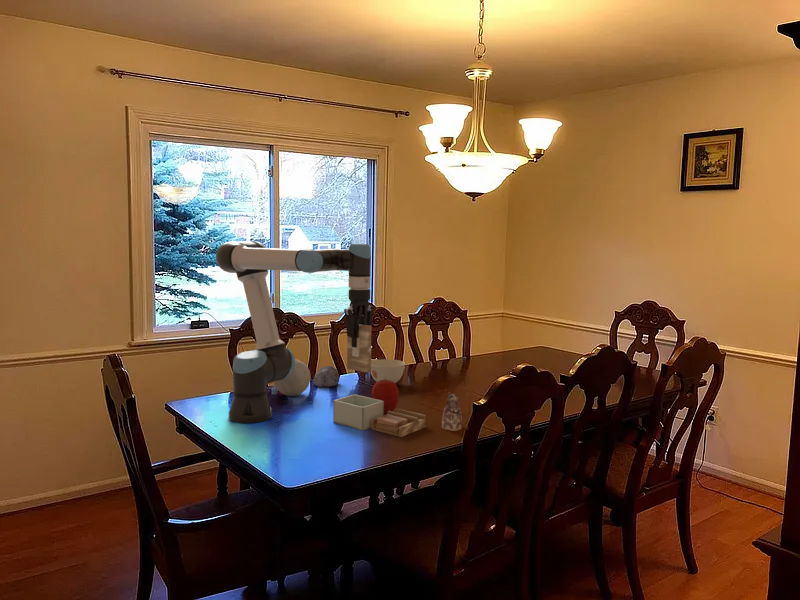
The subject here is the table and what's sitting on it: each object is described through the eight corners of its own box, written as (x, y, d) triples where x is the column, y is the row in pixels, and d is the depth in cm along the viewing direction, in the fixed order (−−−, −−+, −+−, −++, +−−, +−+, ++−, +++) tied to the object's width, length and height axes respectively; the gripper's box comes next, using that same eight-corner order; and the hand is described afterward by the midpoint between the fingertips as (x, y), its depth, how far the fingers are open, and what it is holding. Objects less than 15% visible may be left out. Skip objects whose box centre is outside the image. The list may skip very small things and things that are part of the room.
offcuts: (397, 433, 206) (397, 423, 206) (375, 427, 212) (375, 418, 212) (410, 428, 212) (411, 419, 212) (389, 422, 218) (389, 413, 218)
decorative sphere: (299, 401, 246) (299, 364, 244) (266, 398, 251) (266, 361, 249) (316, 392, 260) (316, 357, 258) (285, 389, 265) (284, 354, 263)
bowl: (410, 388, 270) (410, 365, 269) (375, 391, 264) (375, 368, 263) (397, 379, 285) (397, 358, 284) (363, 382, 279) (364, 360, 278)
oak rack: (400, 437, 205) (400, 424, 204) (370, 429, 213) (371, 416, 212) (425, 427, 216) (425, 415, 215) (396, 419, 224) (396, 408, 223)
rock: (342, 376, 278) (334, 359, 273) (337, 392, 270) (330, 375, 265) (319, 380, 281) (312, 363, 276) (314, 395, 272) (307, 378, 267)
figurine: (445, 431, 212) (446, 397, 210) (438, 425, 218) (439, 391, 217) (465, 429, 214) (466, 395, 212) (457, 423, 220) (458, 390, 219)
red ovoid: (404, 413, 232) (404, 377, 230) (385, 419, 225) (385, 381, 223) (384, 407, 239) (385, 372, 237) (365, 413, 232) (366, 376, 230)
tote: (362, 430, 211) (363, 407, 210) (333, 422, 220) (333, 400, 219) (383, 423, 220) (383, 401, 219) (354, 415, 228) (354, 394, 228)
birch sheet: (366, 372, 214) (366, 326, 212) (347, 368, 220) (347, 323, 218) (371, 371, 216) (371, 325, 214) (351, 367, 222) (352, 323, 220)
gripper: (352, 290, 206) (351, 360, 209) (382, 287, 218) (381, 353, 221) (335, 289, 211) (335, 357, 213) (366, 286, 223) (365, 351, 226)
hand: (359, 355), depth 217 cm, fingers closed on birch sheet, 2 cm apart
